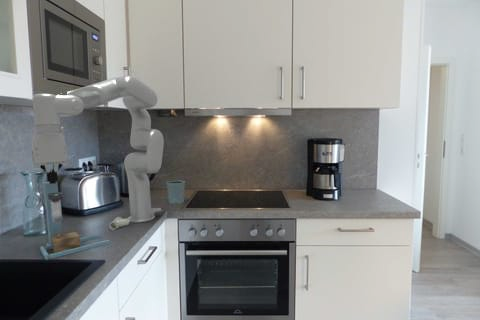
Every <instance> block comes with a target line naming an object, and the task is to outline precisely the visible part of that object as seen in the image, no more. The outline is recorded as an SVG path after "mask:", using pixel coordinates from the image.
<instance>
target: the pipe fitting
mask: <svg viewBox="0 0 480 320" xmlns="http://www.w3.org/2000/svg"><path fill="white" fill-rule="evenodd" d="M127 218H128V217H126V218H122V217H121V216H117V217H115V218H114V219H113V220H112V221H111V222H109V224H108V229H110V230H111V231H115V230H118V228H122V227H127V226H129V225H130V223H131V222H130V221H129V220H128V219H127Z"/></svg>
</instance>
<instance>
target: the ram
mask: <svg viewBox="0 0 480 320" xmlns="http://www.w3.org/2000/svg"><path fill="white" fill-rule="evenodd" d="M47 196H48V200H51V209H52V219H53V222H58V221H61V222H62V221H63V213H62V202H61V201H62V200H61V199H63V196H64V195H63V192H58V193H51V194H48V195H47Z"/></svg>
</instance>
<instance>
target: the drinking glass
mask: <svg viewBox="0 0 480 320" xmlns="http://www.w3.org/2000/svg"><path fill="white" fill-rule="evenodd" d="M185 186H186V181H185V180H181V179H180V180H169V181H167V182H166V188H167V197H168V198H167V199H168V204H169V205H180V204H181V205H182V204H184V202H185V188H186V187H185Z"/></svg>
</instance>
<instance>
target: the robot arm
mask: <svg viewBox="0 0 480 320" xmlns="http://www.w3.org/2000/svg"><path fill="white" fill-rule="evenodd" d="M66 92H67V95H59V94H56V95H55V94H54V93H53V94H52V93H35V94H34V95H33V96H32V97H31V98H32V108H33V109H32V110H33V122H34V132H35V133H34V134H33V135H32V139H31V156H32V157H31V158H32V162H33V163H32V167H33V168H35V169H41V170H43V171H44V172H45V173H46V182H49V183H50V184H52V183H54V184H56V182H58V181H59V179H58V178H59V177H58V172H59V170H60V169H61V168H63V167H65V166H68V165H69V160H68V150H67V145H66V140H65V136H64V134H62V132H65V131H66V127H65V126H61V120H60V118H62V117H63V118H65V117H75V116H78V115H80V114H81V113H82V112H83V110H84V109H88V108H95V107H100V106H103V105H105V104H108V103H110V102H113V101H116V100H117V99H121V98H122V102H123V103H122V104H123V105H124V106H125V108H126V109H127V111H128V112H129V113H130V115H131V129H130V138H129V139H130V140H129V141H130V146H131V147H132V148H133V149H134V150H139V151H138V152H137V151H136V152H131V153H128V154H127V155H126V156H125V158H124V161H123V163H124V168H125V172H126V177H127V187H128V199H129V213H130V216H128V217H126V218H127V219H128V220H129V221H130V222H129V223H145V222H150V221H152V220H154V219H156V215H155V214H156V213H161V212H162V208H161V207H158V208H156V207H152V201H151V190H150V189H151V188H150V187H151V185H150V184H151V183H150V178H149V177H148V175H147V174H156V173H158V172H159V171H160V169H161V167H162V163H163V152H164V144H165V143H164V142H165V139H164V135H163V134H162V132H161V131H160V130H158V129H156V128H151V127H152V119H151V115H150V113H149V112H148V111H147V109H151V108H154V107H155V106H156V105H157V103H158V95H157V93H156V92H155V91H154V89H153V88H151V87H150V86H148V85H147V84H146V83H144V82H143V81H141V80H140V79H138V78H136V77H134V76H132V75H125V76H118V77H112V78H109V79H106V80H103V81H99V82H96V83H93V84H89V85H85V86H83V87H80V88H76V89H73V90H69V91H66ZM140 150H142V151H144V150H146V152H141V151H140ZM50 164H53V165H52V170H51V169H50V168H51V167H50Z"/></svg>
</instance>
